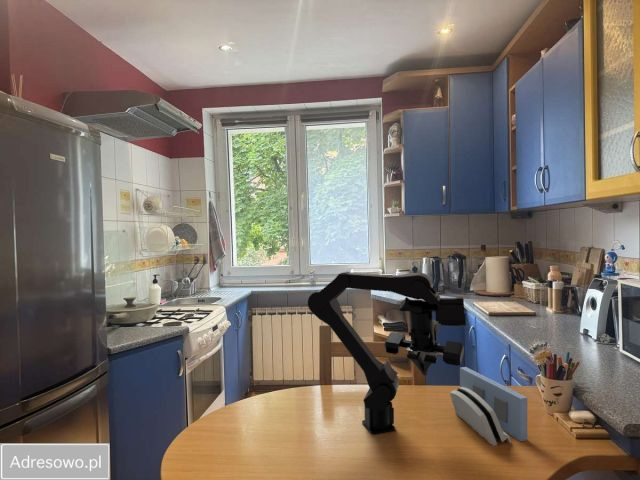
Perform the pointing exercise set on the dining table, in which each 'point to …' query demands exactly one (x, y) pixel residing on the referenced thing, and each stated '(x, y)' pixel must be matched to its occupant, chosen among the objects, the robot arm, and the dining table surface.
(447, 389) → the dining table surface
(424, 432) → the dining table surface
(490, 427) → the white black-striped curved device
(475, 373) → the cabinet side panel
